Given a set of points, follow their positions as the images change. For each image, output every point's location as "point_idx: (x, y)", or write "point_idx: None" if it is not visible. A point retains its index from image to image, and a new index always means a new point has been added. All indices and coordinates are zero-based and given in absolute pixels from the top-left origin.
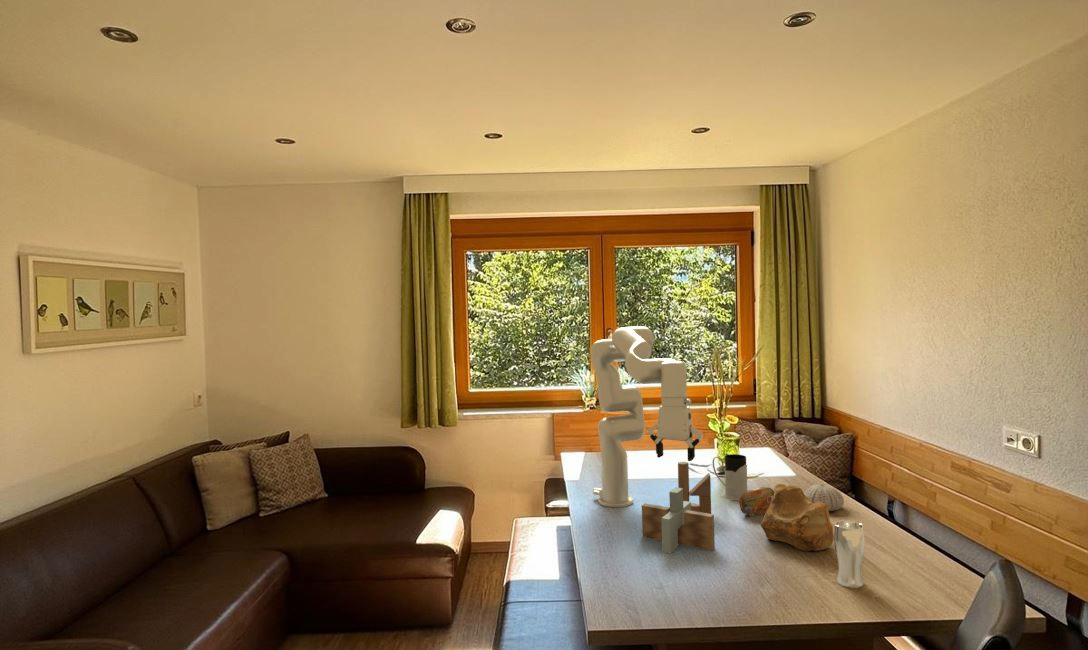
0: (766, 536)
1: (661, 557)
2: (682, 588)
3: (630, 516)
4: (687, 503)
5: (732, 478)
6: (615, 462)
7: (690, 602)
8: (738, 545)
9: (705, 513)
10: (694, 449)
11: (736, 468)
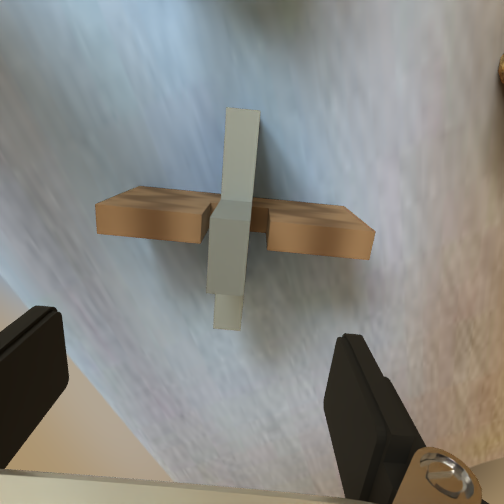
0: (501, 80)
1: None
2: (312, 418)
3: (11, 27)
4: (252, 138)
5: None
6: None
7: None
8: (406, 161)
9: (344, 234)
10: (417, 442)
11: None
